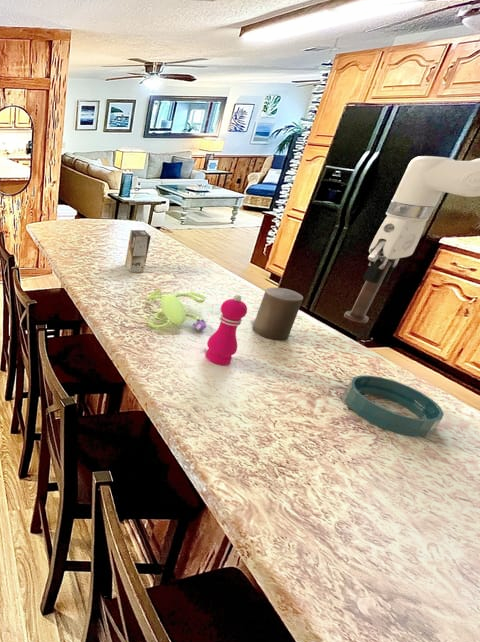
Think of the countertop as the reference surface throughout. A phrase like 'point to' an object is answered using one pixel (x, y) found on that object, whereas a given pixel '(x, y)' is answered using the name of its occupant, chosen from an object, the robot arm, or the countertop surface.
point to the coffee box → (137, 250)
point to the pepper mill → (226, 332)
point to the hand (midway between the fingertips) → (374, 280)
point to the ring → (399, 394)
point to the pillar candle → (277, 313)
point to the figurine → (175, 309)
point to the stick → (365, 299)
